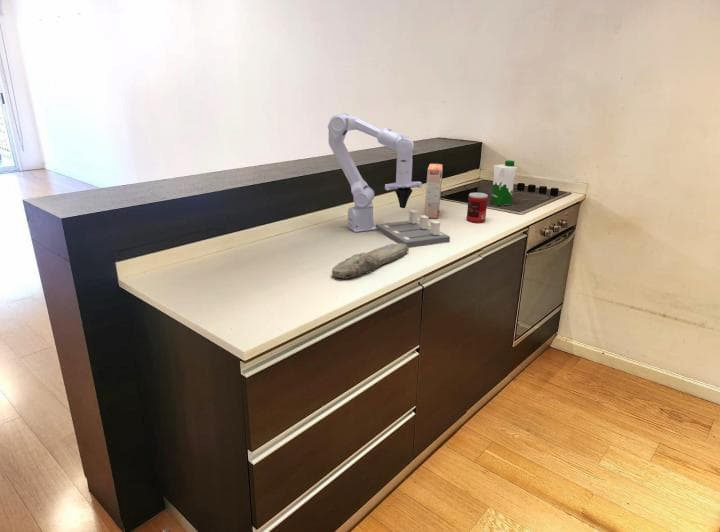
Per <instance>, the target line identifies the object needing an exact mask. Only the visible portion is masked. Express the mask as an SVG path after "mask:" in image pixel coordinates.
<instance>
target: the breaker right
mask: <svg viewBox="0 0 720 532" xmlns="http://www.w3.org/2000/svg"><path fill="white" fill-rule="evenodd" d="M440 226H441V222H439V221H437V220H431V221H430V233H431V234H433V235H439V231H440V229H441V228H440Z"/></svg>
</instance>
